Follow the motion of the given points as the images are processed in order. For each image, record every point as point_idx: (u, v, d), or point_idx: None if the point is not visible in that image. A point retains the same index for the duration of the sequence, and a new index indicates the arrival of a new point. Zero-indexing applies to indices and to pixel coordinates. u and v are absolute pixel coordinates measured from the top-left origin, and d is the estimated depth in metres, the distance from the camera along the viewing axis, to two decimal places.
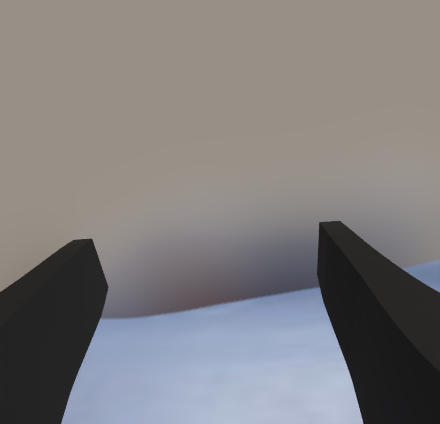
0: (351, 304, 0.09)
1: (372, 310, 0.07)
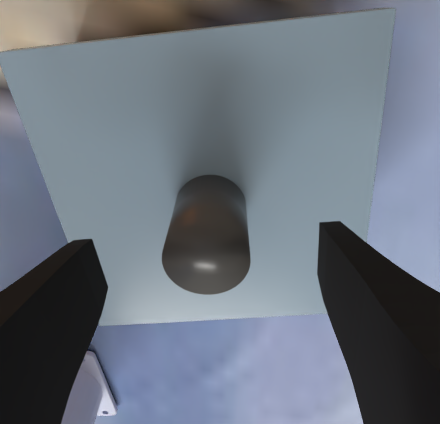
0: (351, 304, 0.09)
1: (372, 310, 0.07)
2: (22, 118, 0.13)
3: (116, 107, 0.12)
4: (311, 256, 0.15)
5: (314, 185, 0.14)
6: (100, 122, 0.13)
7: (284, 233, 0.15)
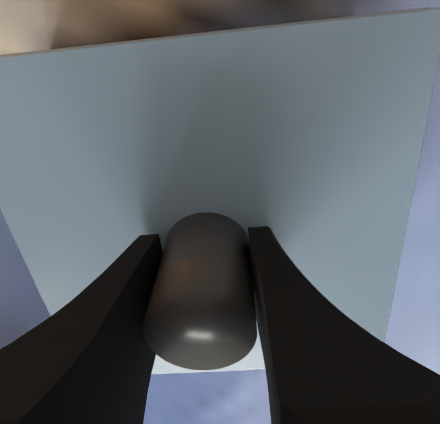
0: (261, 309, 0.09)
1: (265, 316, 0.07)
2: None
3: (88, 132, 0.10)
4: None
5: (334, 225, 0.11)
6: (69, 150, 0.10)
7: None
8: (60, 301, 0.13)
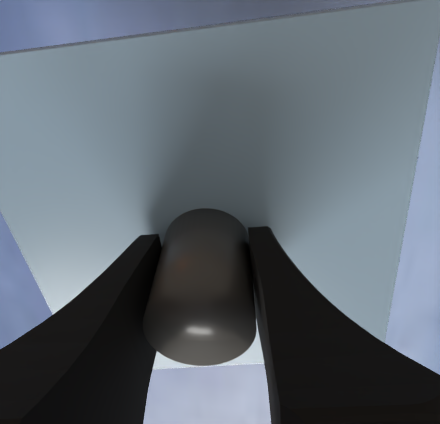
0: (261, 309, 0.09)
1: (265, 316, 0.07)
2: None
3: (85, 130, 0.10)
4: (328, 298, 0.13)
5: (333, 219, 0.11)
6: (66, 148, 0.10)
7: None
8: (61, 298, 0.13)
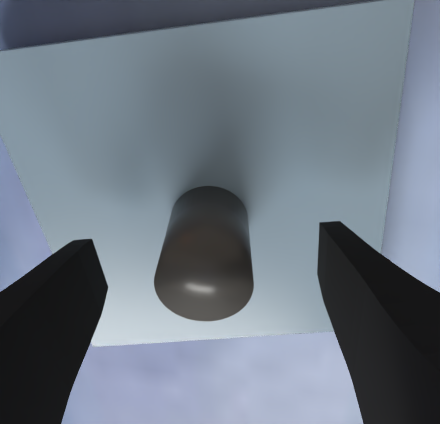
0: (350, 304, 0.09)
1: (372, 310, 0.07)
2: None
3: (102, 114, 0.11)
4: None
5: (323, 195, 0.12)
6: (85, 130, 0.11)
7: (290, 247, 0.14)
8: None
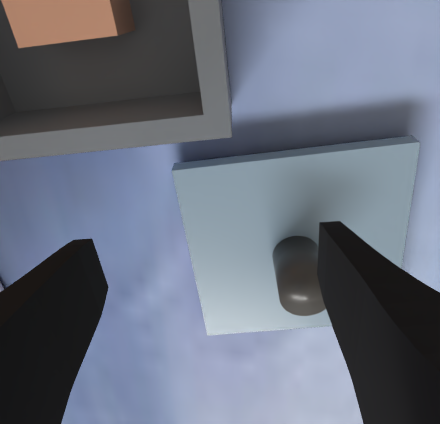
0: (351, 304, 0.09)
1: (372, 310, 0.07)
2: (180, 205, 0.20)
3: (241, 198, 0.20)
4: None
5: (366, 240, 0.21)
6: (230, 207, 0.20)
7: None
8: (206, 287, 0.23)
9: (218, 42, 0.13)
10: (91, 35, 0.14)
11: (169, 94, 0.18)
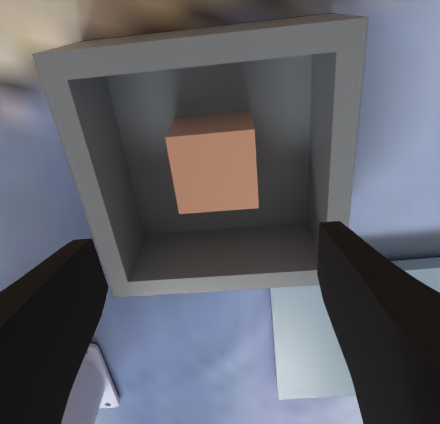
0: (351, 304, 0.09)
1: (372, 310, 0.07)
2: (272, 305, 0.24)
3: None
4: None
5: None
6: (314, 307, 0.24)
7: None
8: (284, 364, 0.27)
9: None
10: (238, 207, 0.18)
11: (274, 224, 0.22)
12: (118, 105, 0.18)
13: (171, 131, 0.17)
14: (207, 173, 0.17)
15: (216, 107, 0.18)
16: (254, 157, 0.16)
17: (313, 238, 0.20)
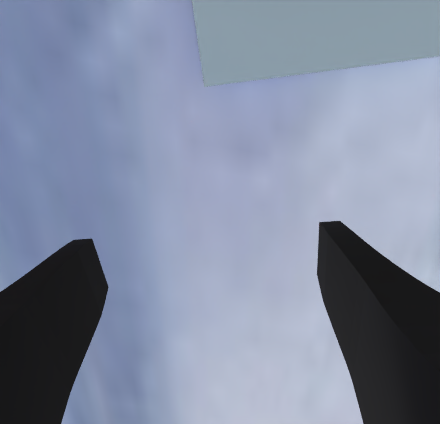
0: (351, 304, 0.09)
1: (372, 310, 0.07)
2: None
3: None
4: None
5: None
6: None
7: None
8: None
9: None
10: None
11: None
12: None
13: None
14: None
15: None
16: None
17: None
